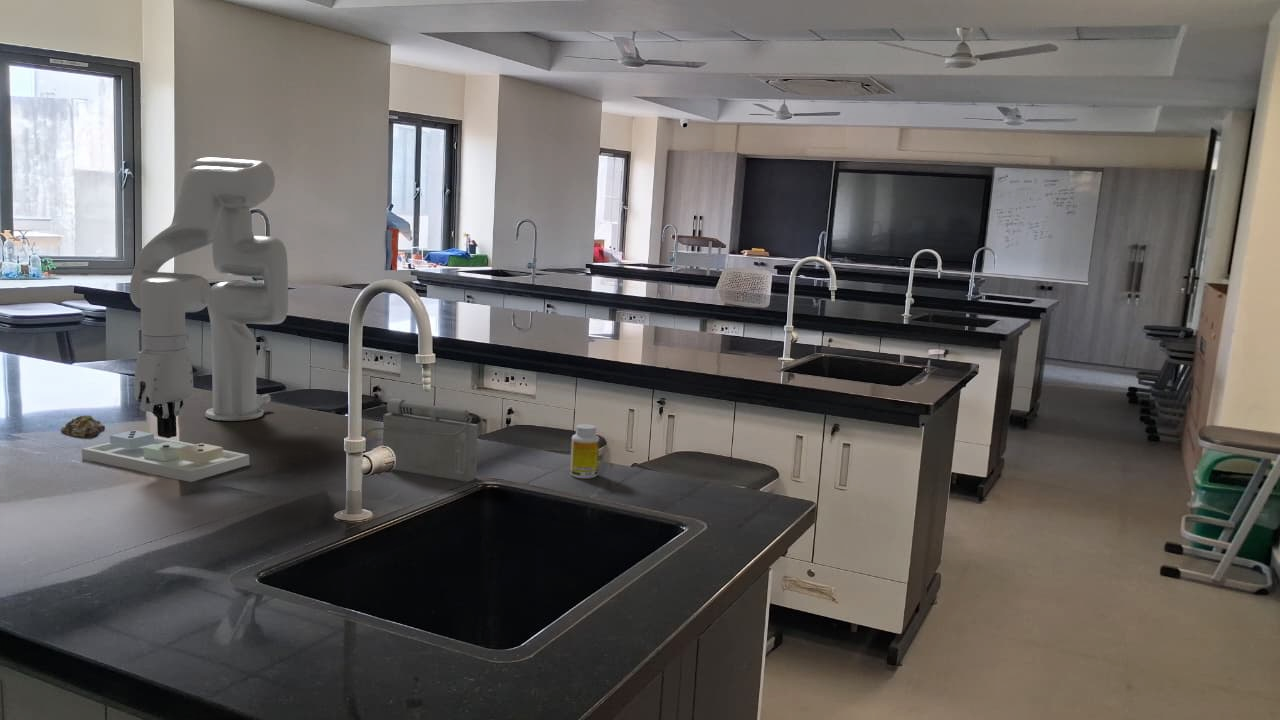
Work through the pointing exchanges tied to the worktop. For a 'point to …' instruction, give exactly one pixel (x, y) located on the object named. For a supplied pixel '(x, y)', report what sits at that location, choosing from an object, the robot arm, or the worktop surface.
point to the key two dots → (200, 453)
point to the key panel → (168, 468)
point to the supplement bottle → (584, 452)
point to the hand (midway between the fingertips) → (167, 436)
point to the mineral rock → (83, 427)
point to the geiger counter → (430, 439)
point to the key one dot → (163, 451)
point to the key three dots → (131, 439)
